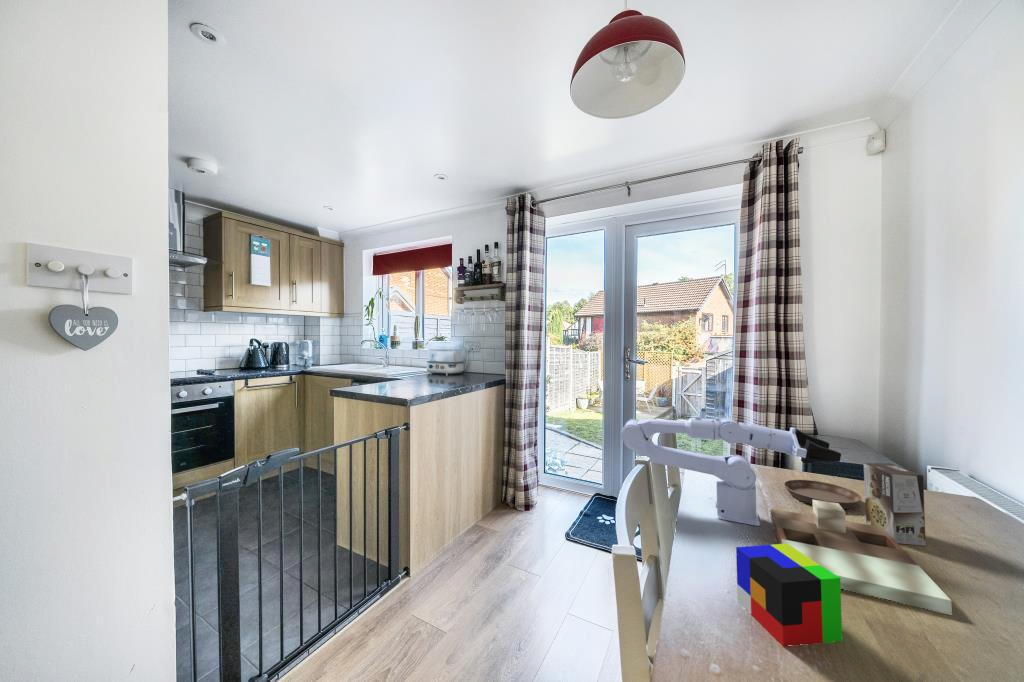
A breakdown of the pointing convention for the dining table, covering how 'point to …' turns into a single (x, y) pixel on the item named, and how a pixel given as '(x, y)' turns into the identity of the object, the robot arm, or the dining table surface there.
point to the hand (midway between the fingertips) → (834, 452)
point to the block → (829, 516)
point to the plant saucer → (822, 492)
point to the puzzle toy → (789, 594)
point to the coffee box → (895, 502)
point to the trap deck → (862, 560)
